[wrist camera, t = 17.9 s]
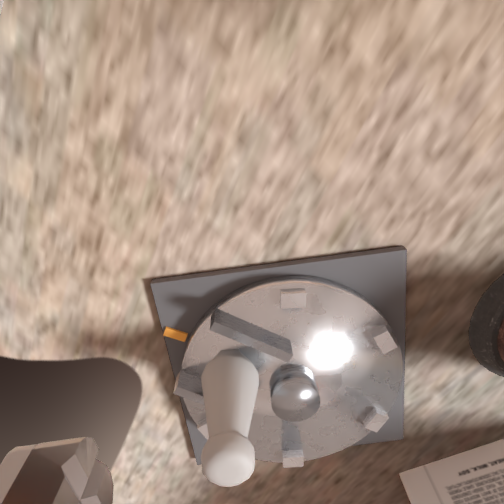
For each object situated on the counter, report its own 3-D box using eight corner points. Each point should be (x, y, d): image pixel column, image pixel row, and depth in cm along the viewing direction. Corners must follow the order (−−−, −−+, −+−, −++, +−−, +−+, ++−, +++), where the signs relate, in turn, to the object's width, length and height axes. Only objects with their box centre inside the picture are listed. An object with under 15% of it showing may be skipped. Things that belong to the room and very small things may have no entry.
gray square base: (403, 245, 43) (407, 250, 42) (400, 432, 53) (404, 441, 52) (152, 279, 43) (149, 285, 42) (197, 458, 54) (197, 466, 52)
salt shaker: (267, 373, 45) (278, 484, 33) (220, 394, 45) (214, 509, 34) (241, 333, 42) (243, 435, 31) (192, 355, 43) (176, 464, 31)
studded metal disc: (244, 237, 40) (245, 258, 36) (440, 330, 46) (462, 359, 41) (149, 408, 49) (140, 443, 44) (324, 471, 54) (332, 508, 49)
